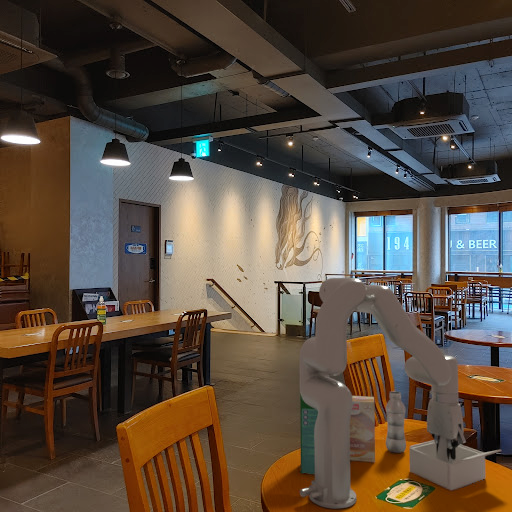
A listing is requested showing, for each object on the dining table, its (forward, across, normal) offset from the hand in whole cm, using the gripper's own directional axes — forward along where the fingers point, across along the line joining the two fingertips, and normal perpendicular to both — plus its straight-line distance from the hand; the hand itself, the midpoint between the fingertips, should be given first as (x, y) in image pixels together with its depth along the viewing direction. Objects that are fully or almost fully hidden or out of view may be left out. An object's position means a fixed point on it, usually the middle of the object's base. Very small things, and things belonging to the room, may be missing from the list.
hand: (446, 458), depth 142 cm
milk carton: (+5, -24, -31) cm, 39 cm away
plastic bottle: (+5, -22, +1) cm, 22 cm away
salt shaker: (+3, 0, 0) cm, 3 cm away
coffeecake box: (+5, -26, -15) cm, 30 cm away
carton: (+5, 0, 0) cm, 5 cm away
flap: (-4, +10, 0) cm, 11 cm away
